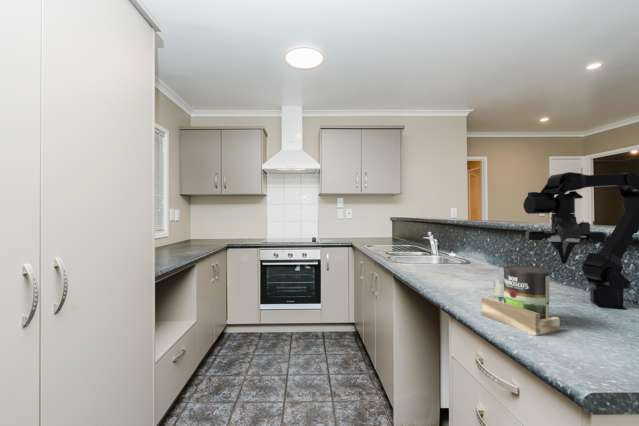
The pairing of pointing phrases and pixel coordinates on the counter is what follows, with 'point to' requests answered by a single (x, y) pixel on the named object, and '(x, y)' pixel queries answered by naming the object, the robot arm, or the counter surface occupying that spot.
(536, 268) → the dark container
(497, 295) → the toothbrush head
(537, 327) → the maple cradle
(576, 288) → the counter surface
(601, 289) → the robot arm
